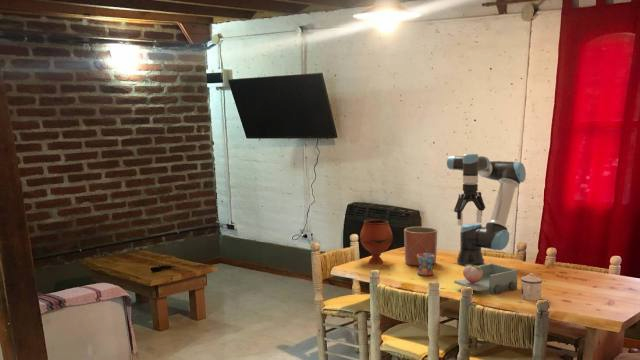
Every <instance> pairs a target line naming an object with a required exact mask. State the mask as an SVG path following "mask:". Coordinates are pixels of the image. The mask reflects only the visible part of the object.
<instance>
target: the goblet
mask: <svg viewBox="0 0 640 360" xmlns="http://www.w3.org/2000/svg"><path fill="white" fill-rule="evenodd" d="M389 223H390V222H389V221H388V220H384V219H365V220H363V225H362V228H361V230H360V233H359V240H360V243H361V245H362V246H363V248H364V249H365V250H366V251H367V252H368V253H370V254H371V257H370V259H369V260H368V263H369V264H370V265H382V264H384V260H383V259H382V257H381V255H382V253H384V252H385V251H387V250H388V249H389V248H390V246H391V245H392V243H393V240H394V237H393V232H392V228H391V227H390V225H389Z"/></svg>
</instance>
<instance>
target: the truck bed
mask: <svg viewBox="0 0 640 360" xmlns="http://www.w3.org/2000/svg"><path fill="white" fill-rule="evenodd" d="M479 267H480V268H481V269H482V271H483V275H482V278H481V280H480V281H478V282H476V283H479V284H482V285H485V286H488V287H489V289H488V290H480V292H483V293H485V294H486V293H487V294H490V295H494V294H497V295H501V294H502V293H503V292H506V291H515V290H517V289H518V269H514V268H510V267H507V266H502V265H501V264H497V263H493V262H491V263H486V264H485V263H484V265H480V266H479Z"/></svg>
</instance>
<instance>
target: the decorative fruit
mask: <svg viewBox="0 0 640 360" xmlns="http://www.w3.org/2000/svg"><path fill="white" fill-rule="evenodd" d="M462 275H463V277H464V278H465V279H467V280H468V281H469V282H470V283H472V284H473V283H476V282H478V281H480V280H481V278H482V275H483V271H482V269H481V268H480V267H479V266H475V265H474V263H473V265H471V264H469V265H466V266H464V268H463V270H462Z"/></svg>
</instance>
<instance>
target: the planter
mask: <svg viewBox="0 0 640 360" xmlns="http://www.w3.org/2000/svg"><path fill="white" fill-rule="evenodd" d="M403 232H404V233H403V238H404V239H403V240H404V241H403V242H404V260H405V263H406V265H413V266H418V267H419V260H418V257H417V254H420V253H429V254H433V255H434V259H433V262H432V265H435V264H436V263H437V252H438V251H437V250H438V248H437V247H438V229H437V228H434V227H430V226H429V227H428V226H409V227H405V228H404V229H403Z"/></svg>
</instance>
